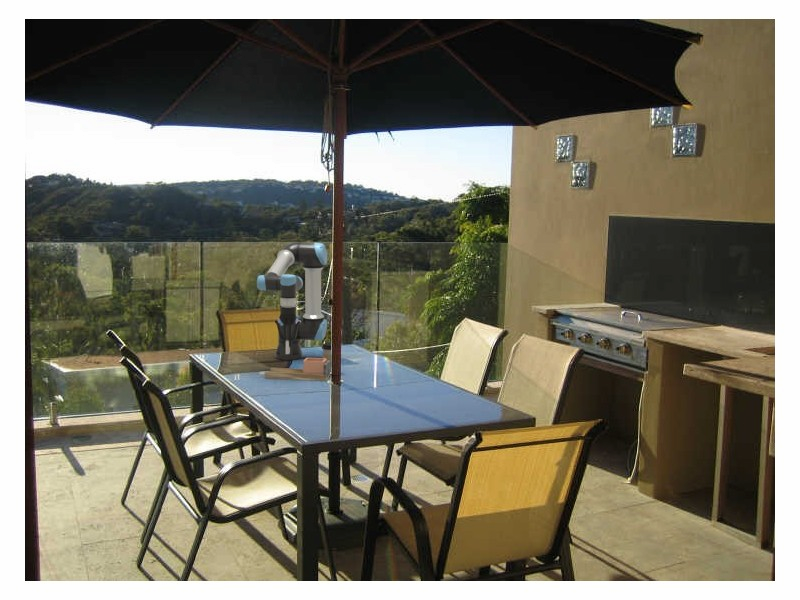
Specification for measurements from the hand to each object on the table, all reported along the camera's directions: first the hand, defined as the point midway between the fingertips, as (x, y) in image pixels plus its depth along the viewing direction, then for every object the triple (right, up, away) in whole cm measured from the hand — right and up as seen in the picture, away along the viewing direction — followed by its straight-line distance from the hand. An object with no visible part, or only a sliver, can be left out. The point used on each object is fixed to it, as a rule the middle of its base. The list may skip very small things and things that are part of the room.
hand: (287, 353), depth 407 cm
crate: (+13, -11, -1) cm, 17 cm away
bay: (+5, -12, 0) cm, 13 cm away
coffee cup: (+20, -11, +12) cm, 26 cm away
